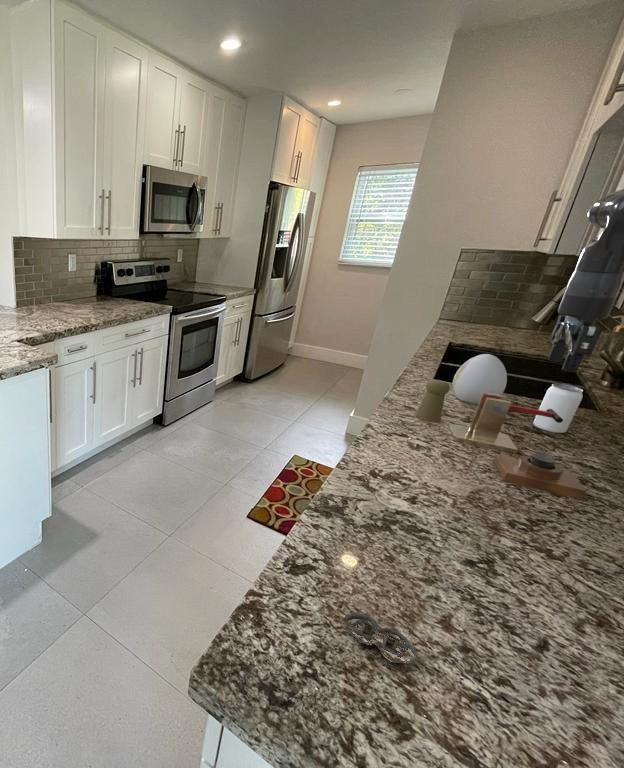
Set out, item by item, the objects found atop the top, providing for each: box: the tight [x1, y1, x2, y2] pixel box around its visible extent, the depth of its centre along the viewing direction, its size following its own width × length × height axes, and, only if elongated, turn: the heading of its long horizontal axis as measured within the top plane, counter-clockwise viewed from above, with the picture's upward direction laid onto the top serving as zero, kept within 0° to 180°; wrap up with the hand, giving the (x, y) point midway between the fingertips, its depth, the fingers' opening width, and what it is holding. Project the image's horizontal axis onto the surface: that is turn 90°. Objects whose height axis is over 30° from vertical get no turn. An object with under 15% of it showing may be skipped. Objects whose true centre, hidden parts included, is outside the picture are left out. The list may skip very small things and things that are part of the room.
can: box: [533, 383, 584, 434], centre depth 109 cm, size 6×6×12 cm
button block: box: [492, 453, 587, 501], centre depth 87 cm, size 12×9×4 cm
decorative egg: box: [452, 353, 508, 406], centre depth 126 cm, size 12×12×15 cm
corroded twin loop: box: [344, 612, 419, 664], centre depth 52 cm, size 5×8×1 cm, turn 48°
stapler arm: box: [487, 397, 563, 423], centre depth 98 cm, size 13×6×2 cm, turn 60°
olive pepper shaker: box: [414, 379, 451, 423], centre depth 114 cm, size 6×6×11 cm
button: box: [529, 453, 557, 469], centre depth 86 cm, size 4×4×2 cm
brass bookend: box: [447, 392, 519, 454], centre depth 102 cm, size 12×9×12 cm
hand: (561, 366), depth 92 cm, fingers open, 8 cm apart
